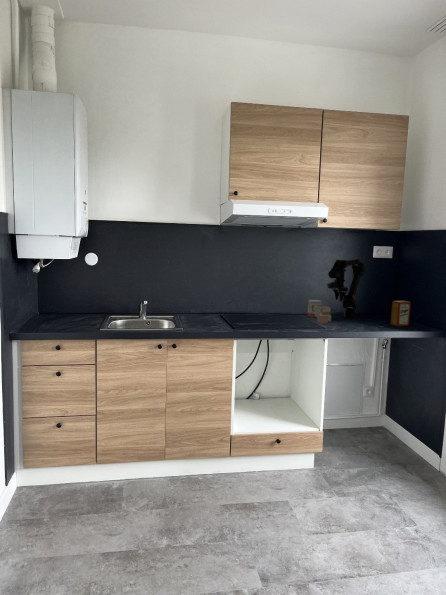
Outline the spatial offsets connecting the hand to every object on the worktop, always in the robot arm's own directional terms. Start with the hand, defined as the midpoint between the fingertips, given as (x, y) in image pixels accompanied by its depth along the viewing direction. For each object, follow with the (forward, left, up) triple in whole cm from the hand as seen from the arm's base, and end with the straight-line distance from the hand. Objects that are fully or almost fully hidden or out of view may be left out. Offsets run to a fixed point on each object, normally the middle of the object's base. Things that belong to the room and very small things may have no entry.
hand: (338, 300), depth 311 cm
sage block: (+10, +4, -13) cm, 17 cm away
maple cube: (+10, +4, -9) cm, 14 cm away
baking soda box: (-36, +18, -13) cm, 42 cm away
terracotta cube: (+15, +15, -13) cm, 25 cm away
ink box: (+14, -9, -13) cm, 21 cm away
